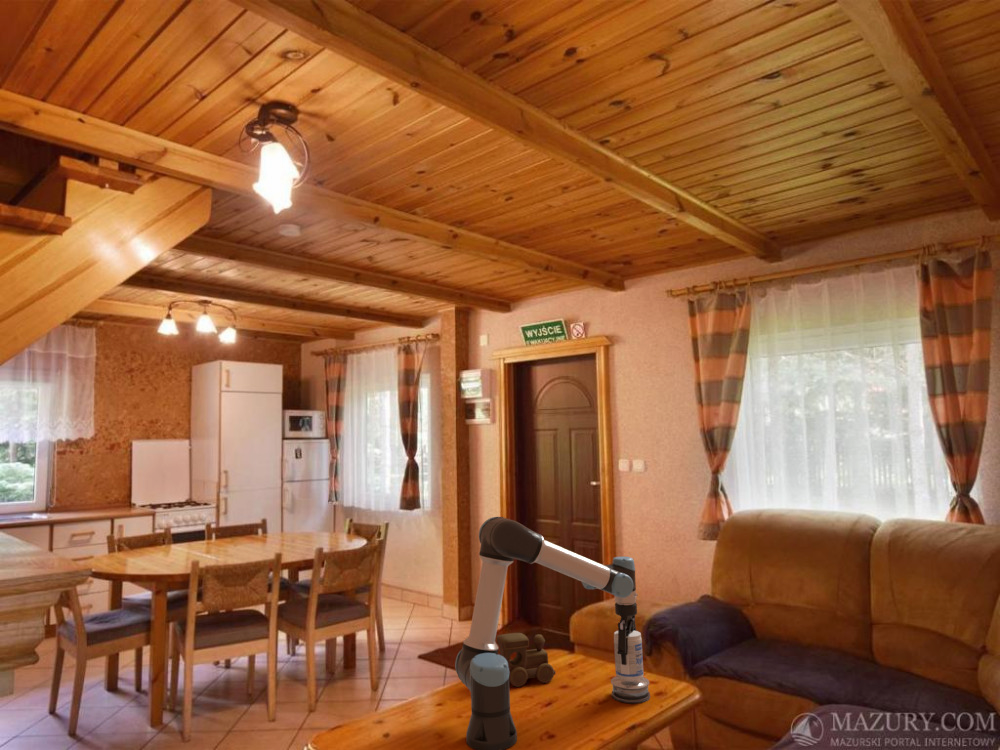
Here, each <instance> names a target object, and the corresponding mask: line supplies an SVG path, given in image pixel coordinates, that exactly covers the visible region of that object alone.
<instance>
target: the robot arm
mask: <svg viewBox="0 0 1000 750" xmlns="http://www.w3.org/2000/svg"><path fill="white" fill-rule="evenodd" d="M478 539H479V543H480V546H479V547H480V548H479V553H478V557H479V559H480V560H481V567H480V568H481V569H480V573H479V580H478V585H477V590H476V597H475V601H474V607H473V612H472V619H471V623H470V629H469V634H468V636H467V637H466V638H464V639H463V642H462V648H461V650H459V651H458V653H457V655H456V658H455V661H454V662H455V664H454V665H455V671H456V675H457V677H458V679H459V680H460V681H461V683H462V684H464V685H465V687H466V688H467V689H468V690H469V692H470V702H471V703H470V705H471V706H470V707H471V715H470V718H469V721H468V725H467V726H468V727H467V730H466V735H465V736H466V741H465V742H466V745H467V746H469V748H471V749H473V750H505V749H509V748H512V746H514V745H515V744H517V741H518V734H517V733H518V732H517V728H516V726H515V723H514V720H513V717H512V714H511V697H510V696H511V695H510V694H511V693H510V691H511V690H510V681H509V673H510V672H509V668H508V662H507V660H506V659H505V658H504V657H503V656H501V655H500V653H499V650H500V646H499V645H498V643H497V641H496V639H497V631H498V627H499V626H498V625H499V620H500V616H501V614H500V613H501V609H502V602H503V596H504V590H505V586H506V579H507V573H508V567H509V566H510V565H511V564H513V563H514V560H518V561H522V562H524V563H525V562H526V563H527V564H530V565H532V564H534V563H536V564H539V565H541V566H543V567H545V568H549V569H551V570H553V571H555V572H558V573H560V574H563V575H565V576H568V577H569V578H573V579H575V580H577V581H579V582H581V584H582V586H583V588H584V589H586V590H596V589H598V590H601V591H603V592H605V593H608V594H610V595H613V596H614V602H615V604H614V609H615V610H614V611H615V614H616V615H617V616H619V617H620V620H619V622H618V624H617V629H618V630H617V631H618V652H617V654H620V662H621V674H627V675H629V655H628V653H627V652H628V638H626V637H628V636H629V634H630V631H632V632H633V631H637V626H636V615H637V614H638V607H637V606H638V604H637V603H636V602H637V597H638V593H637V589H636V588H637V585H636V584H637V583H636V565H635V561H634V559H633V557H630V556H615V557H613V559H612V562H611V564H602V563H599V562H597V561H595V560H592V559H590V558H588V557H585V556H583V555H581V554H578V553H576V552H574V551H572V550H569V549H566V548H564V547H563V546H560V545H558V544H555V543H553V542H550V541H549V540H546V539H544V536H543V535H542V534H541V533H538V532H536V531H533V530H532V529H530V528H528V527H526V526H525V525H524V524H521V523H520V522H518V521H517V520H514V519H509V518H507V517H503V516H493V517H490V518H488V519H486V520H485V521H484V522H483V523H482V524H481V526H480V528H479V531H478Z"/></svg>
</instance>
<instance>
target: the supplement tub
mask: <svg viewBox="0 0 1000 750" xmlns="http://www.w3.org/2000/svg"><path fill="white" fill-rule="evenodd" d="M626 638H628V652H627V653H628V655H629V675H627V674H621V662H620V654H617V652H618V630H616V631H614V633H613V647H614V663H615V665H614V666H615V677H616V676H617V677H618V678H619V679H621V680H625V681H636V680H640V679H642V678H643V677H644V661H643V659H644V658H643V639H642V634H641V632H640V631H638V630H636V631H633V632H632V631H630V634H629V636H628V637H626Z"/></svg>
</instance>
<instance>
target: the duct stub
mask: <svg viewBox="0 0 1000 750" xmlns="http://www.w3.org/2000/svg"><path fill="white" fill-rule="evenodd" d="M610 684H611V685H612V691H611V698H612V699H613V700H614V701H616V702H620V703H623V704H631V705H632V704H633V705H634V704H635V705H636V704H637V705H638V704H642V703H645V702H648V701H650V699H651V693H650V691H649V685H650V681H649V679H648V678H647V677H644V676H643V678H642V679H640V680H636V681H625V680H621V679H619V678H618V677H617V676H616V675H615V676H613V677H612V678H611V680H610Z"/></svg>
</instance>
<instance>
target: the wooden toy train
mask: <svg viewBox="0 0 1000 750" xmlns="http://www.w3.org/2000/svg"><path fill="white" fill-rule="evenodd" d="M532 642H533V644H534V646H535V649H534V648H533V649H527V648H529V647H530V639H529V638H528V636H526V634H525V633H522V632H512V633H504V634H503V633H502V634H497V635H496V644H497V645H498V646H499V655H501V656H503V657H504V658H505V659H506V660H507V662H508V668H509V672H510V673H509V683H510V684H511V685H512V687H516V688H520V687H522V686H524V685H525V684H526V683H527V680H528V679H533V678H536V680H537V681H538V682H539V683H542V684H546V683H550V682H551V681H552V680H553V678H554V676H555V675H556V670H555V669H554V667H553V665H551V663H549V655H548V652H547V650H546V649H544V645H545V642H546V640H545V638H544V636H543V635H542V634H535V636H534V637H533V639H532ZM514 653H515V654H516V655H515V657H514V658H513V659H511V657H512V655H513V654H514Z"/></svg>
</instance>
